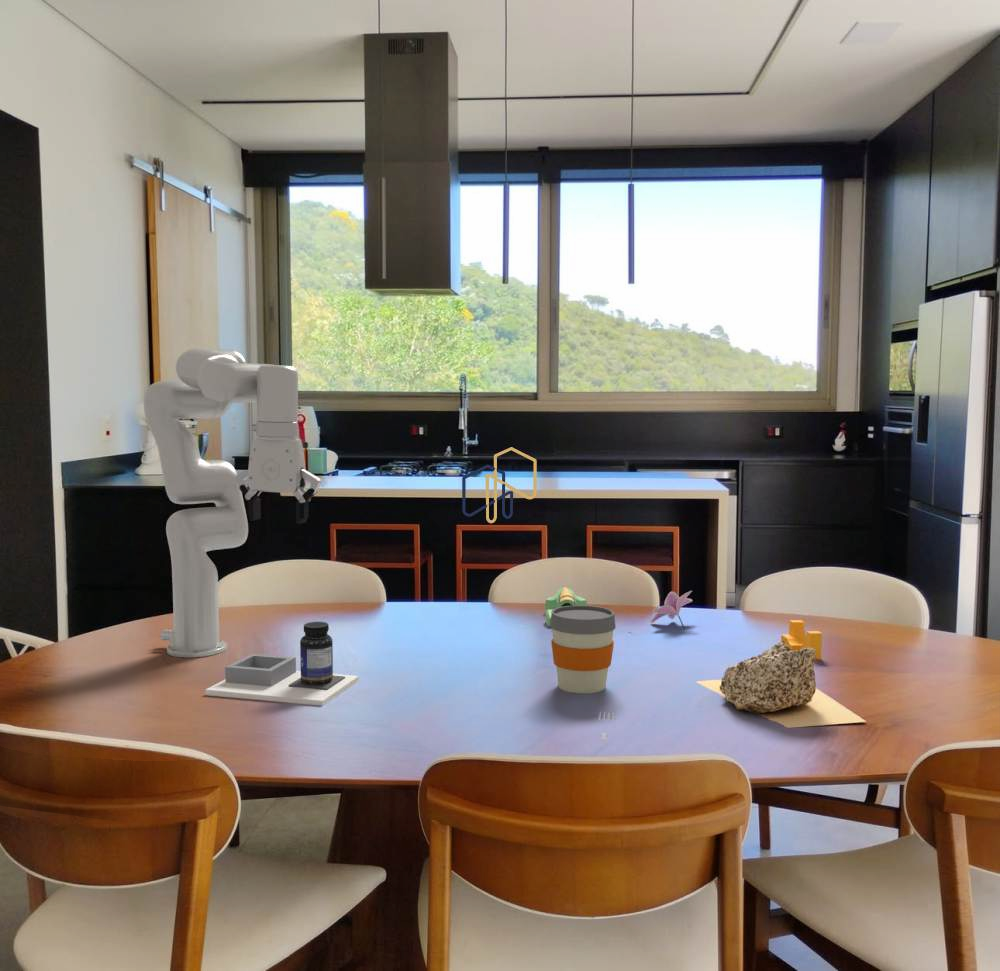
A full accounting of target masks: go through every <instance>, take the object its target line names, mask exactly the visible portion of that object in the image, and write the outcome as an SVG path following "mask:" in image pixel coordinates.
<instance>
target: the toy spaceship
mask: <svg viewBox="0 0 1000 971" xmlns="http://www.w3.org/2000/svg"><path fill="white" fill-rule="evenodd" d="M576 605H584V606H587V599H585V598H583V597H581V596H579V595H576V594H575V591H573V589H571V588H569V587H568V586H567V587H566V586H563V587H562V588H559V589H558V590H557V591H556V594H555V595H553V596H550V597H547V598H546V599H545V614H544V615H545V620H544V622H545V625H546V626H547V627H548V628H551V627H550V621H551V612H552V610H553V609H555V608H559V607H564V606H576Z"/></svg>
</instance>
